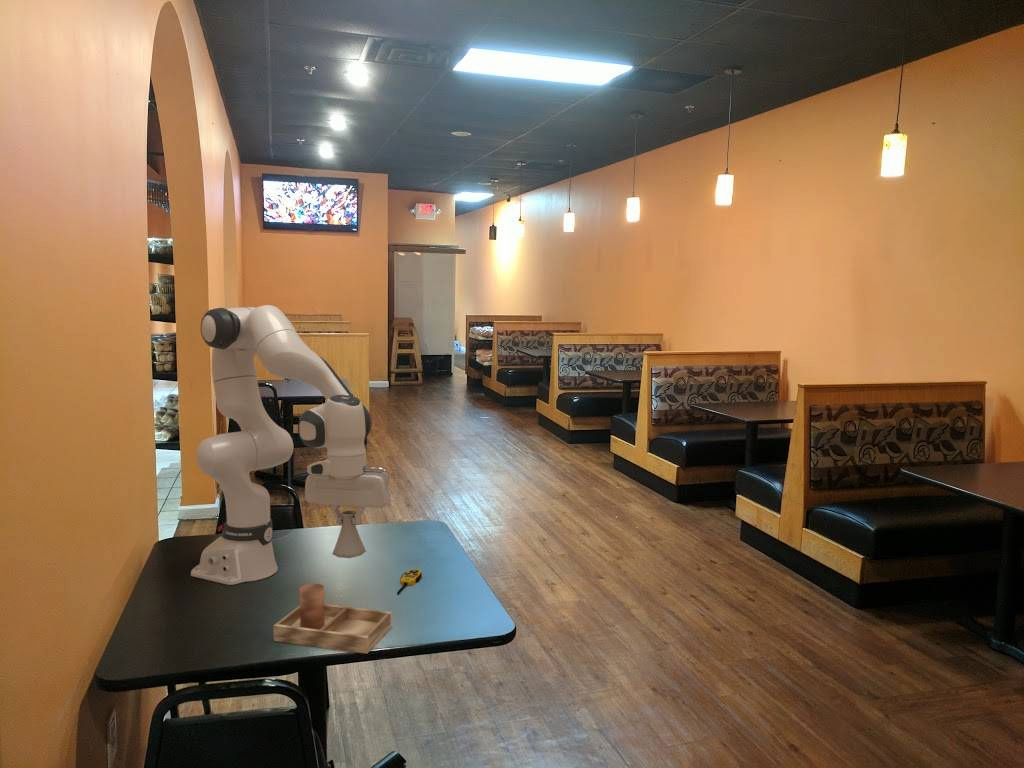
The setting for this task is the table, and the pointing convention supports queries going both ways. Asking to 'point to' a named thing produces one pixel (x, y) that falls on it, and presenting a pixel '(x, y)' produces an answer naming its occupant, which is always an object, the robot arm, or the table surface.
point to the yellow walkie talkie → (410, 578)
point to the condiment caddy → (331, 624)
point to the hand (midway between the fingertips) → (348, 523)
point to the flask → (348, 538)
